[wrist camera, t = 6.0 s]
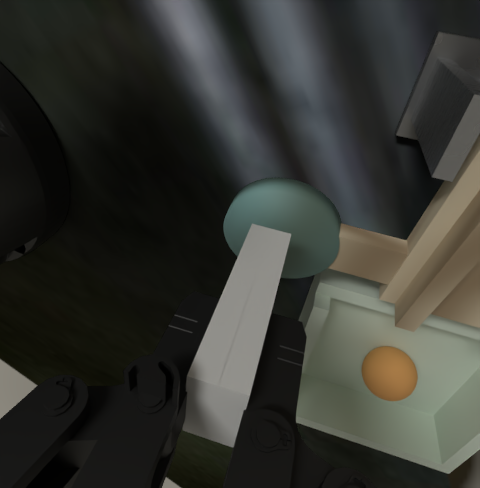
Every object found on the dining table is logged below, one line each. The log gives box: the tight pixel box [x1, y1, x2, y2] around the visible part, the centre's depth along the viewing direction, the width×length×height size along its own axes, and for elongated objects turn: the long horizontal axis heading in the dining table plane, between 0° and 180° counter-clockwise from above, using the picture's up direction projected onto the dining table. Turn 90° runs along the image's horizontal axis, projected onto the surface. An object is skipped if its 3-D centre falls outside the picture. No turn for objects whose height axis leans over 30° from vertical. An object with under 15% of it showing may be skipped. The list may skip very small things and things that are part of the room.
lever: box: [223, 134, 480, 332], centre depth 10 cm, size 14×16×3 cm
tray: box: [296, 268, 480, 474], centre depth 22 cm, size 12×12×4 cm
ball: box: [362, 346, 418, 401], centre depth 22 cm, size 3×3×3 cm
